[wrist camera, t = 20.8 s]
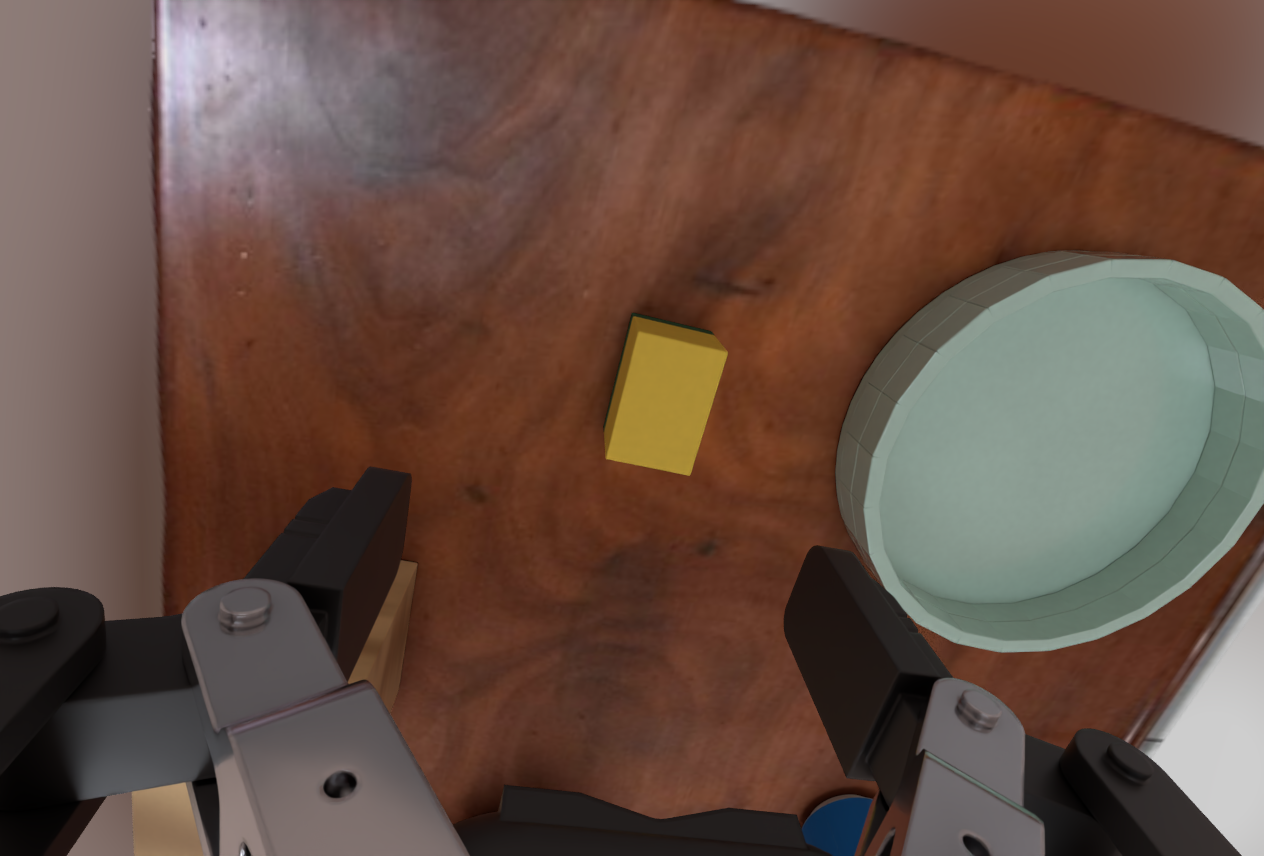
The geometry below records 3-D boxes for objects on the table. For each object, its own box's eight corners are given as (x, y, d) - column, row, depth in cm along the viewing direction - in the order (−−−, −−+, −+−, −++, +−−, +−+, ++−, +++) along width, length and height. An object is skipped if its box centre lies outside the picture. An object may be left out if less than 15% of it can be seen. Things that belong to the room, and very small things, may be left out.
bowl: (866, 247, 30) (906, 256, 26) (1274, 252, 31) (1368, 261, 27) (812, 610, 37) (838, 658, 33) (1143, 601, 38) (1203, 646, 35)
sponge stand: (282, 539, 33) (127, 721, 22) (418, 562, 34) (336, 747, 23) (273, 673, 36) (134, 892, 25) (398, 690, 37) (318, 908, 26)
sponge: (632, 312, 30) (638, 330, 26) (711, 331, 31) (729, 351, 27) (602, 427, 32) (605, 459, 28) (678, 443, 33) (690, 476, 29)
